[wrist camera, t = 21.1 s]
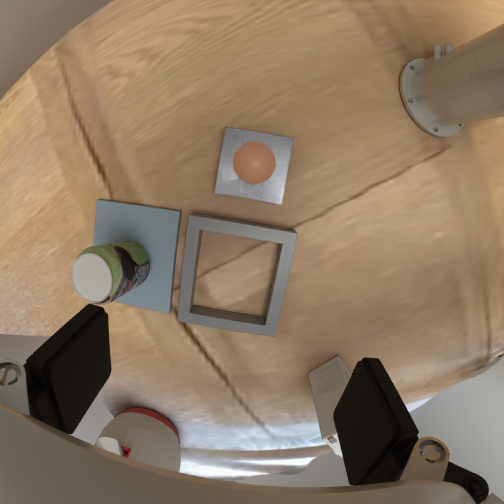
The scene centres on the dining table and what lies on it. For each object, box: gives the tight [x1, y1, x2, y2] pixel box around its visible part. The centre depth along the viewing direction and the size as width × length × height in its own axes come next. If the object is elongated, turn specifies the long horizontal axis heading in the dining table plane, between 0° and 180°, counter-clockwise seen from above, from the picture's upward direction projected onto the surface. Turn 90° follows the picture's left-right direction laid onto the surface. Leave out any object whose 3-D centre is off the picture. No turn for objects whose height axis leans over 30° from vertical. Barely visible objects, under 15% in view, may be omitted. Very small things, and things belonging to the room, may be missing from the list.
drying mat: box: [94, 199, 182, 314], centre depth 37 cm, size 14×12×1 cm
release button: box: [233, 142, 276, 184], centre depth 31 cm, size 4×4×4 cm
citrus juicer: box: [94, 408, 181, 472], centre depth 36 cm, size 16×17×20 cm
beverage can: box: [71, 242, 150, 305], centre depth 31 cm, size 6×7×12 cm
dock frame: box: [177, 213, 298, 337], centre depth 37 cm, size 14×13×2 cm
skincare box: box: [308, 355, 351, 458], centre depth 35 cm, size 8×6×15 cm
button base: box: [214, 127, 293, 204], centre depth 34 cm, size 8×8×2 cm
